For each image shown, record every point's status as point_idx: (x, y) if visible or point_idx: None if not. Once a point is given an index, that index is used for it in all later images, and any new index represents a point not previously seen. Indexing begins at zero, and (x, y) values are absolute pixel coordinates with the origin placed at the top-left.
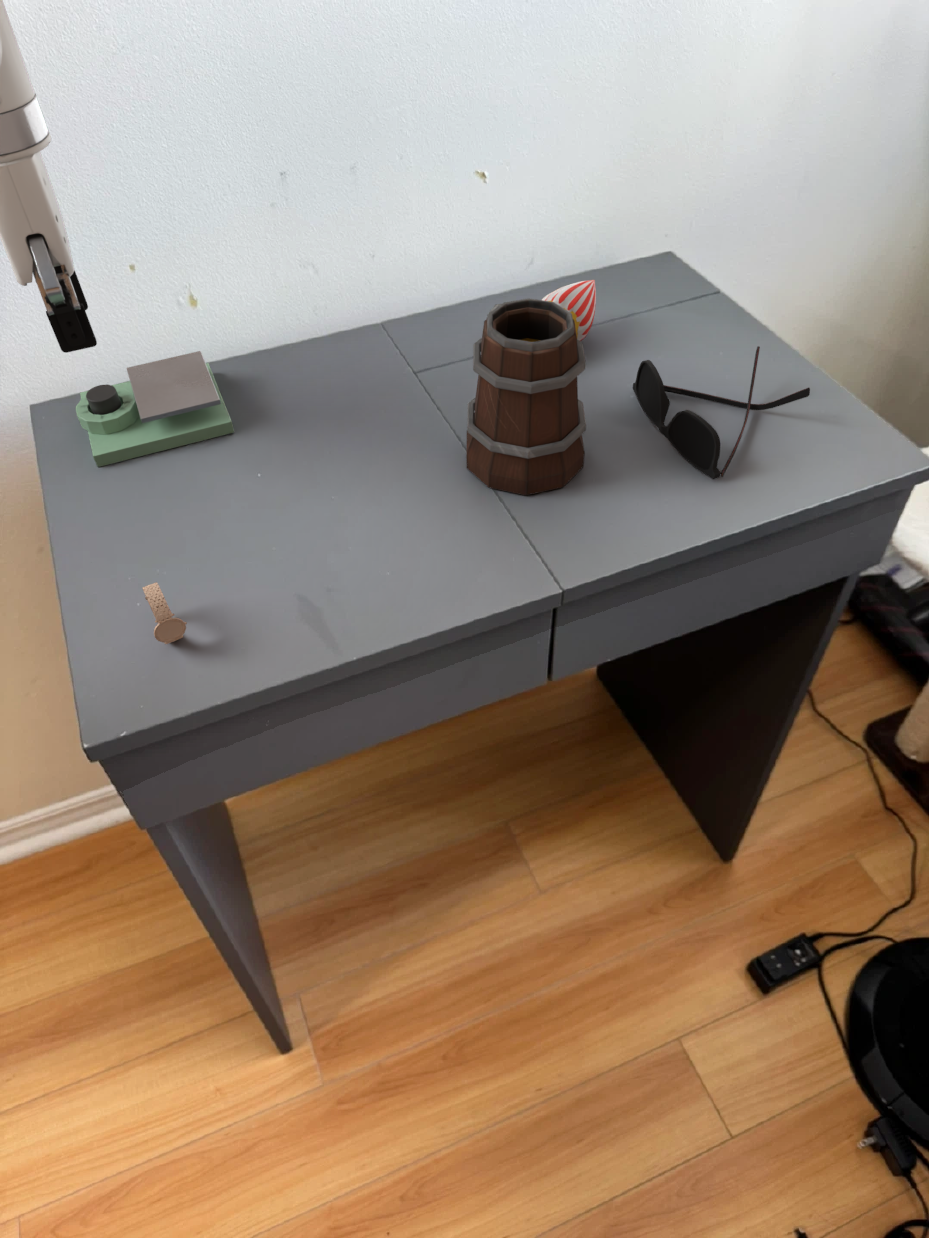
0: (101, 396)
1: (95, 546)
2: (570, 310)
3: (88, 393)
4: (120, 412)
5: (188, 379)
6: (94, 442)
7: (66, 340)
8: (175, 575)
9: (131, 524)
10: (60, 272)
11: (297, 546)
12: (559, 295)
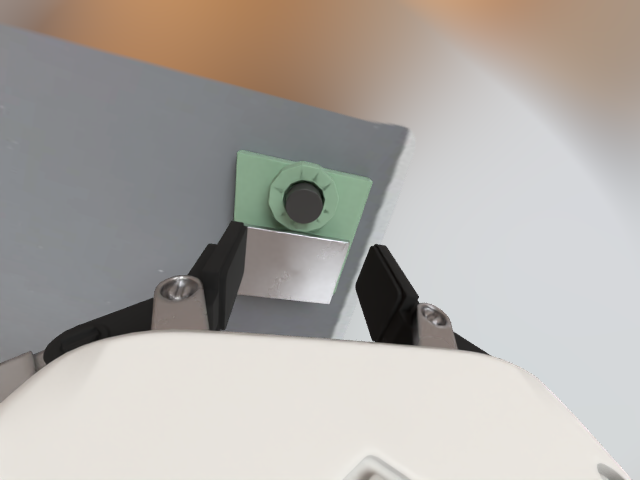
0: (295, 205)
1: (79, 90)
2: None
3: (312, 194)
4: (277, 210)
5: (287, 283)
6: (264, 163)
7: (206, 247)
8: (3, 155)
9: (114, 145)
10: (389, 331)
11: (40, 262)
12: None
